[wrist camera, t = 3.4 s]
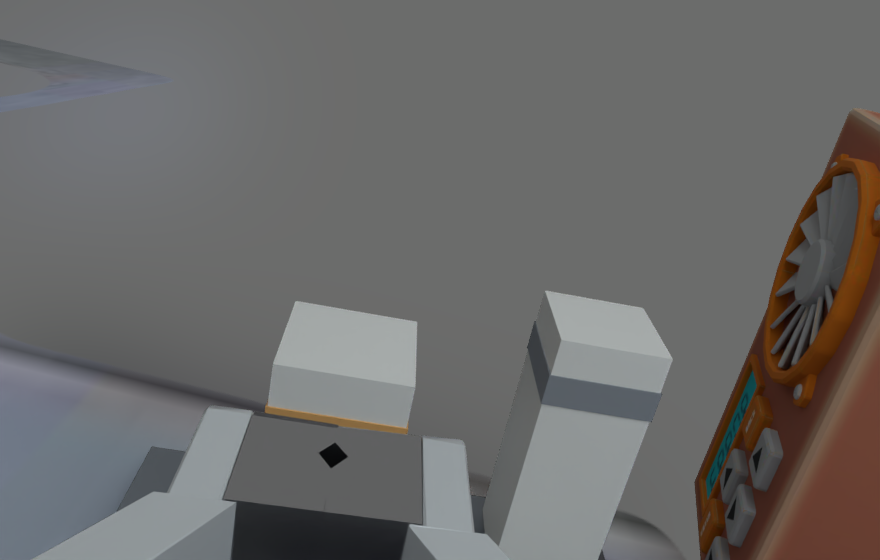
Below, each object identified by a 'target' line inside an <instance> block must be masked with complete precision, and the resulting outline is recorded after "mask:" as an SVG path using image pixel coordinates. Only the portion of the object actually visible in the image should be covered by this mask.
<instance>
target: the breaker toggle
mask: <svg viewBox="0 0 880 560" xmlns="http://www.w3.org/2000/svg"><path fill="white" fill-rule="evenodd" d="M416 345H417V322H415V321H409V320H403V319H397V318H392V317H386V316H380V315H374V314H369V313H363V312H357V311H351V310H345V309H340V308H334V307H328V306H322V305H316V304H310V303H305V302H299V301H296V302H295V305H294V307H293V310H292V313H291V316H290V319H289V321H288V324H287V327H286V329H285V332H284V335H283V338H282V340H281V343H280V346H279V349H278V352H277V355H276V357H275V360H274V363H273V368H272V376H271V383H270V391H269V398H268V401H267V404H266V406H265V413H268V414H275V415H281V416H287V417H293V418H299V419H306V420H312V421H318V422H324V423H330V424H337V425H338V426H343V427H351V428H359V429H367V430H375V431H384V432H392V433H400V434H407V432H408V419H409V414H410V410H411V405H412V401H413V396H414V392H415V385H416V384H415V383H416V382H415V381H416V347H417V346H416Z"/></svg>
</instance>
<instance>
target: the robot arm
mask: <svg viewBox="0 0 880 560" xmlns="http://www.w3.org/2000/svg"><path fill="white" fill-rule="evenodd" d="M32 560H511V559H510V558H509V557H508V556H507V555H506V554H505V553H504V552H503V551H502V550H501V549H500V548H499V546H498V545H497V544H496V543H495V542H494V541H493V540H492V539H491V538H490V537H489V536H488V535H487V534H481V533H475V532H474V522H473V513H472V503H471V494H470V485H469V475H468V466H467V457H466V447H465V443H464V442H463V441H462V440H461V439H451V438H442V437H432V436H416V435H407V434H400V433H392V432H384V431H375V430H367V429H359V428H351V427H343V426H338V425H337V424H330V423H324V422H318V421H312V420H306V419H299V418H293V417H287V416H281V415H275V414H268V413H262V412H256V411H255V412H254V413H253V412H252V411H251V410H243V409H236V408H229V407H221V406H214V405H211V406H210V407H209V408H207V409H206V410H205V411H204V413H203V416H202V418H201V420H200V422H199V424H198V426H197V429H196V431H195V433H194V435H193V437H192V439H191V442H190V444H189V446H188V448H187V450H186V452H185V454H184V457H183V459H182V461H181V463H180V465H179V467H178V470H177V472H176V474H175V476H174V478H173V480H172V483H171V485H170V487H169V489H168V491H167V493H162V492H151V493H150V494H148V495H146V496H144V497H142V498H141V499H139V500H137V501H135V502H133V503H132V504H130V505H128V506H126V507H125V508H123V509H121V510H119V511H117V512H116V513H114V514H112V515H110V516H108V517H107V518H105V519H103V520H101V521H99V522H98V523H96V524H94V525H92V526H91V527H89V528H87V529H85V530H83V531H82V532H80V533H78V534H76V535H74V536H73V537H71V538H69V539H67V540H66V541H64V542H62V543H60V544H58V545H57V546H55V547H53V548H51V549H49V550H48V551H46V552H44V553H42V554H40V555H39V556H37V557H35V558H33V559H32Z"/></svg>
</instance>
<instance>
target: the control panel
mask: <svg viewBox="0 0 880 560" xmlns="http://www.w3.org/2000/svg"><path fill="white" fill-rule="evenodd" d="M695 493H696V505H697V517H698V530H699V542H700V556H701V560H880V113H877V112H873V111H869V110H864V109H860V108H854V109H852V110H851V111H850V112H849V114H848V116H847V119H846V122H845V124H844V126H843V128H842V131H841V133H840V136H839V138H838V141H837V143H836V145H835V148H834V150H833V152H832V155H831V157H830V160H829V162H828V164H827V167H826V169H825V172H824V174H823V177H822V179H821V180H820V182H819V183H818V184H817V185H816V187H815V188H814V190H813V192H812V194H811V195H810V197H809V198H808V200H807V202H806V204H805V205H804V207H803V209H802V210H801V213H800V215H799V217H798V219H797V221H796V223H795V225H794V228H793V230H792V232H791V234H790V236H789V239H788V242H787V244H786V247H785V250H784V252H783V255H782V258H781V261H780V263H779V266H778V269H777V273H776V276H775V280H774V283H773V287H772V291H771V295H770V298H769V304H768V308H767V310H766V313H765V315H764V317H763V320H762V322H761V325H760V327H759V329H758V332H757V334H756V337H755V339H754V341H753V344H752V346H751V349H750V351H749V353H748V356H747V358H746V361H745V363H744V365H743V368H742V370H741V372H740V375H739V377H738V380H737V382H736V384H735V387H734V389H733V391H732V394H731V397H730V399H729V401H728V403H727V406H726V408H725V411H724V413H723V415H722V418H721V420H720V423H719V425H718V427H717V430H716V432H715V435H714V437H713V439H712V442H711V444H710V446H709V449H708V451H707V454H706V456H705V458H704V461H703V463H702V466H701V468H700V470H699V473H698V475H697V478H696V480H695Z"/></svg>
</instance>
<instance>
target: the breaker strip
mask: <svg viewBox="0 0 880 560" xmlns="http://www.w3.org/2000/svg"><path fill="white" fill-rule="evenodd" d="M527 348H528V352H527V355H526V359H525V362H524V366H523V370H522V373H521V376H520V380H519V384H518V387H517V391H516V394H515V398H514V401H513V405H512V408H511V412H510V415H509V419H508V422H507V426H506V429H505V433H504V436H503V440H502V444H501V447H500V450H499V454H498V458H497V461H496V464H495V468H494V471H493V475H492V478H491V482H490V485H489V489H488V492H487V496H486V497H481V496H474V495H471V503H472V513H473V522H474V532H475V533H481V534H487V535H488V536H489V537H490V538H491V539H492V540H493V541H494V542H495V543H496V544H497V545H498V546H499V548H500V549H501V550H502V551H503V552H504V553H505V554H506V555H507V556H508V557H509V558H510V559H511V560H605V558H604V555H603V551H602V547H603V545H604V542H605V539H606V537H607V534H608V531H609V529H610V526H611V523H612V521H613V518H614V515H615V513H616V510H617V507H618V505H619V502H620V499H621V497H622V494H623V491H624V489H625V486H626V483H627V481H628V478H629V475H630V472H631V470H632V467H633V465H634V462H635V459H636V456H637V454H638V451H639V449H640V446H641V443H642V441H643V438H644V435H645V432H646V430H647V427H648V425H649V422H652V420H653V417H654V414H655V412H656V409H657V406H658V403H659V401H660V398H661V396H662V393H661V390H662V387H663V385H664V382H665V379H666V377H667V374H668V371H669V369H670V366H671V363H672V361H673V359H672V357H671V355H670V353H669V352H668V350H667V348H666V347H665V345H664V343H663V341H662V340H661V338H660V336H659V334H658V333H657V331H656V329H655V328H654V326H653V324H652V322H651V321H650V319H649V317H648V316H647V314H646V312H645V310H644V309H643V308H640V307H634V306H629V305H623V304H617V303H612V302H606V301H600V300H595V299H590V298H583V297H578V296H573V295H567V294H562V293H556V292H550V291H545V292H544V296H543V299H542V303H541V306H540V310H539V313H538V317H537V320H536V321H535V322H534V325H533V329H532V333H531V336H530V339H529V343H528V346H527ZM184 454H185V452H184V451H178V450H171V449H165V448H158V447H151V449H150V451H149V452H148V454H147V456H146V458H145V460H144V462H143V464H142V465H141V467H140V469H139V471H138V473H137V475H136V476H135V478H134V480H133V482H132V484H131V486H130V488H129V489H128V491H127V493H126V495H125V497H124V499H123V500H122V502H121V504H120V506H119V508H118V510H117V511H119V510H121V509H123V508H125V507H126V506H128V505H130V504H132V503H133V502H135V501H137V500H139V499H141V498H142V497H144V496H146V495H148V494H150V493H151V492H162V493H167V491H168V489H169V487H170V485H171V483H172V480H173V478H174V476H175V474H176V472H177V470H178V467H179V465H180V463H181V461H182V459H183V457H184Z"/></svg>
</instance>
